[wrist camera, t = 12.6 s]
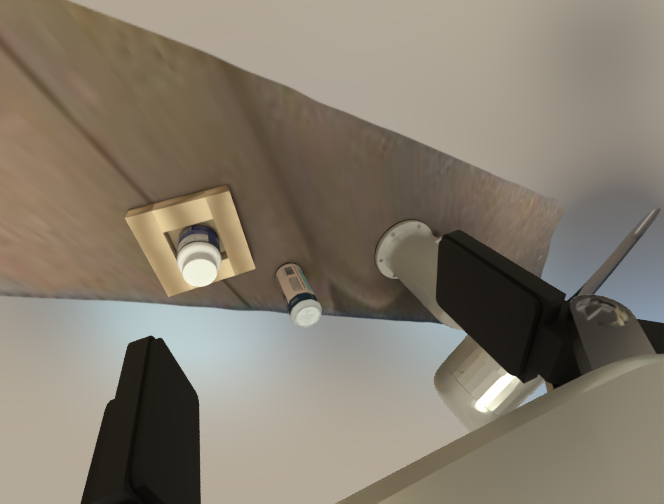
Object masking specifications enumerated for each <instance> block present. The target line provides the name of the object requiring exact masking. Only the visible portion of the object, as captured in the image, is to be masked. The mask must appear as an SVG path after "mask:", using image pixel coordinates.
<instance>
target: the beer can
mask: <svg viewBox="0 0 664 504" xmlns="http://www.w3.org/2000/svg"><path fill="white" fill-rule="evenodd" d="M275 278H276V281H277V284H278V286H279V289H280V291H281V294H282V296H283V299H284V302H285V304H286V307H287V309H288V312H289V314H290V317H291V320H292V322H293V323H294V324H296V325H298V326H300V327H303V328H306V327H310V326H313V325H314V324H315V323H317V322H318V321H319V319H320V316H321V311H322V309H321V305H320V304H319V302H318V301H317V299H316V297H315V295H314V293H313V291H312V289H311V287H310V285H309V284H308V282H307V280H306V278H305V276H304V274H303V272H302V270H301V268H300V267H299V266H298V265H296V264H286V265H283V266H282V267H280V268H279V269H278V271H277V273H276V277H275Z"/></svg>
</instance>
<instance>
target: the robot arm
mask: <svg viewBox="0 0 664 504" xmlns="http://www.w3.org/2000/svg"><path fill="white" fill-rule="evenodd" d="M375 262H376V266H377V267H378V269H379V270H380V272H381V273H382V274H383V275H385V276H386V277H389V278H392V279H399V280H400V281H401V282H402V283H403V284H404V285H405V286H406V287H407V288H408V289H409V290H410V291H411V292H412V293H413V294H414V295H415V296H416V297H417V298H418V299H419V300H420V301H421V302H422V303H423V304H424V305H425V306H426V308H427V309H428V310H429V311H430V312H431V313H432V314H433V315H434V316H435V317H436V318H437V319H438V320H439V321H440V322H442V323H443V324H445V325H447V326H449V327H451V328H455V329H460V330H464V331H465V332H466V333H467V334H468V335H467V336H466V337H465V339H464V340H463V341H462V342H461V343H460V344H459V345H458V347H457V348H456V349H455V350H454V351H453V352H452V353H451V354H450V355H449V356H448V358H447V359H446V360H445V361H444V362H443V363H442V365H441V366H440V367H439V369H438V370H437V372H436V373H435V376H434V385H435V388H436V390H437V392H438V394H439V396H440V397H441V399H442V400H443V402H444V403H445V404H446V405H447V407H448V408H449V409H450V410H451V411H452V412H453V413H454V415H455V416H456V417H457V418H458V419H459V420H460V421H461V423H462V424H463V425H464V426H465V427H466V428H467V429H468V430H469V431H470V433H469V434H467V435H465V436H463V437H461V438H459V439H457V440H455V441H453V442H451V443H450V444H448V445H446V446H444V447H442V448H440V449H438V450H436V451H434V452H432V453H430V454H429V455H427V456H425V457H423V458H421V459H419V460H417V461H415V462H413V463H411V464H410V465H408V466H406V467H404V468H402V469H400V470H398V471H396V472H395V473H392V474H391V475H389V476H387V477H385V478H383V479H381V480H379V481H377V482H375V483H373V484H372V485H370V486H368V487H366V488H364V489H362V490H360V491H358V492H356V493H355V494H353V495H351V496H349V497H347V498H345V499H343V500H341V501H340V502H338V503H336V504H664V323H659V322H653V321H647V320H640V319H636V317H635V315H634V314H633V313H632V312H631V311H630V310H629V309H628V308H627V307H625V306H624V305H623V304H621V303H619V302H617V301H615V300H613V299H609V298H607V297H604V296H598V295H580V296H576V297H575V298H573V299H572V300H571V302H570V303H569V302H567V301H565V300H564V299H565V296H566V294H565V293H563V292H562V291H560V290H558V289H557V288H555V287H553V286H552V285H550V284H548V283H547V282H545V281H543V280H542V279H540V278H538V277H537V276H535V275H534V274H532V273H530V272H529V271H527V270H525V269H524V268H522V267H520V266H519V265H517V264H515V263H514V262H512V261H510V260H509V259H507V258H506V257H504V256H502V255H501V254H499V253H497V252H496V251H494V250H492V249H491V248H489V247H487V246H486V245H484V244H482V243H481V242H479V241H478V240H476V239H474V238H473V237H471V236H469V235H468V234H466V233H464V232H463V231H461V230H456V231H454V232H451V233H448V234H445V235H443V236H440V237H438V238H437V237H435V236H433V234H432V231H431V230H430V228H429V227H428V226H427V225H425V224H424V223H422V222H420V221H417V220H406V221H403V222H400V223H398V224H396V225H394V226H393V227H392V228H390V229H389V230H388V231H387V232H386V233H385V234H384V236H383V237H382V238H381V240H380V242H379V243H378V246H377V249H376V253H375ZM544 381H545V384H546V389H547V393H546V394H544V395H542V396H540V397H538V398H536V399H534V400H533V401H531V402H528V403H527V404H525V405H523V406H521V407H519V408H517V407H518V406H519V405H520V404H521V403H522V402H523V401H524V400H525V399H526V398H527V397H528V396H529V395H531V394H532V393H533V392H534V391H535V390H536V389H537V388H538V387H539V386H540V385H541V384H542V383H543V382H544ZM516 408H517V409H516ZM199 434H200V430H199V400H198V396H197V393H196V391H195V390H194V388H193V387H192V385H191V383H190V382H189V380H188V379H187V377H186V375H185V374H184V372H183V371H182V369H181V367H180V366H179V364H178V363H177V361H176V360H175V358H174V357H173V355H172V353H171V352H170V350H169V348H168V347H167V345H166V344H165V342H164V341H163V339H162V338H158V339H155V338H154V337H153V336H148V337H145V338H142V339H139V340H136V341H134V342H131V343H129V345H128V346H127V350H126V354H125V358H124V363H123V367H122V371H121V375H120V379H119V383H118V387H117V391H116V396H115V399H113V400H110V402H109V403H108V404H107V406H106V409H105V412H104V416H103V419H102V423H101V427H100V431H99V435H98V439H97V442H96V447H95V450H94V454H93V458H92V462H91V465H90V469H89V473H88V477H87V481H86V485H85V488H84V492H83V496H82V500H81V504H201V496H200V435H199Z"/></svg>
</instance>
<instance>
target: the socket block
mask: <svg viewBox="0 0 664 504" xmlns="http://www.w3.org/2000/svg"><path fill="white" fill-rule="evenodd" d="M125 219H126V221H127V223H128V224H129V226H130V228H131V230H132V232H133V233H134V235H135V237H136V239H137V241H138V242H139V244H140V246H141V248H142V250H143V251H144V253H145V255H146V257H147V259H148V261H149V262H150V264H151V266H152V268H153V270H154V271H155V273H156V275H157V277H158V279H159V280H160V282H161V284H162V286H163V288H164V289H165V291H166V293H167V295H168V297H169V296H172V295H175V294H179V293H182V292H185V291H188V290H191V289H194V288H197V287H196V286H192V285H190V284H188V283H187V282H186V281H185V280H184V278H183V275H182V273H181V272H180V270H179V268H178V266H177V253H178V241H179V235H180V233H181V231H182V230H183V229H184V228H185V227H186V226H189V225H193V224H197V223H203V224H207V225H209V226H211V227H212V228H213V229H214V230H215V231H216V233H217V235H218V238H219V245H220V252H221V260H222V261H221V266H220V269H219V270H218V272H217V276H216V278H215V280H214V281H213V282H216V281H219V280H222V279H225V278H228V277H232V276H235V275H238V274H241V273H244V272H247V271H250V270H253V269H255V266H254V262H253V259H252V256H251V253H250V250H249V247H248V244H247V241H246V238H245V235H244V232H243V229H242V226H241V223H240V220H239V217H238V214H237V211H236V208H235V205H234V202H233V199H232V196H231V194H230V191H229V188H228V185H223V186H219V187H215V188H211V189H207V190H203V191H199V192H195V193H192V194H188V195H184V196H180V197H176V198H172V199H168V200H164V201H160V202H156V203H152V204H148V205H144V206H140V207H136V208H132V209H129V210H128V213H127V215H126V217H125ZM213 282H212V283H213Z"/></svg>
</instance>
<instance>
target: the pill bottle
mask: <svg viewBox="0 0 664 504" xmlns="http://www.w3.org/2000/svg"><path fill="white" fill-rule="evenodd" d="M221 261H222V260H221V252H220V245H219V238H218V235H217V233H216V231H215V230H214V229H213V228H212V227H211V226H209V225H207V224H203V223H197V224H193V225H189V226H186V227H185V228H184V229H183V230H182V231H181V233H180V235H179V241H178V253H177V266H178V268H179V270H180V272H181V273H182V275H183V278H184V280H185V281H186V282H187V283H188V284H190V285H192V286H196V287H202V286H206V285H209V284H210V283H212V282H213V281H214V280H215V278H216V276H217V272H218V270H219V269H220V266H221Z"/></svg>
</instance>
